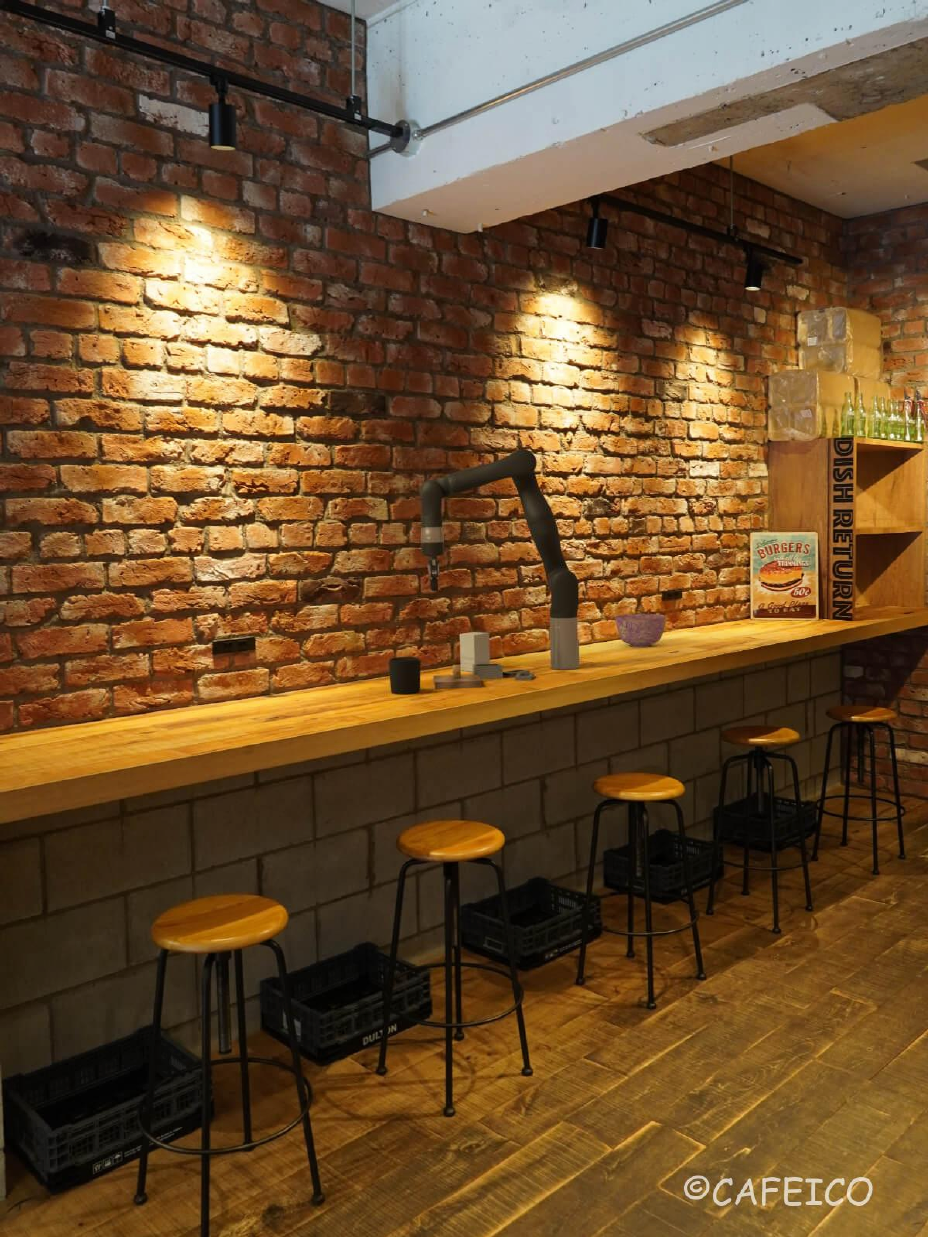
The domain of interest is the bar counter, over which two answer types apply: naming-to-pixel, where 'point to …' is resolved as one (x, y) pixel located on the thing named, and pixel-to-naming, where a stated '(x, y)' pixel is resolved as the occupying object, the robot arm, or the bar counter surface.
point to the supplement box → (474, 650)
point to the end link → (488, 670)
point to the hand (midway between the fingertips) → (434, 590)
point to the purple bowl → (640, 629)
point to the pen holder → (404, 675)
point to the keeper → (457, 680)
